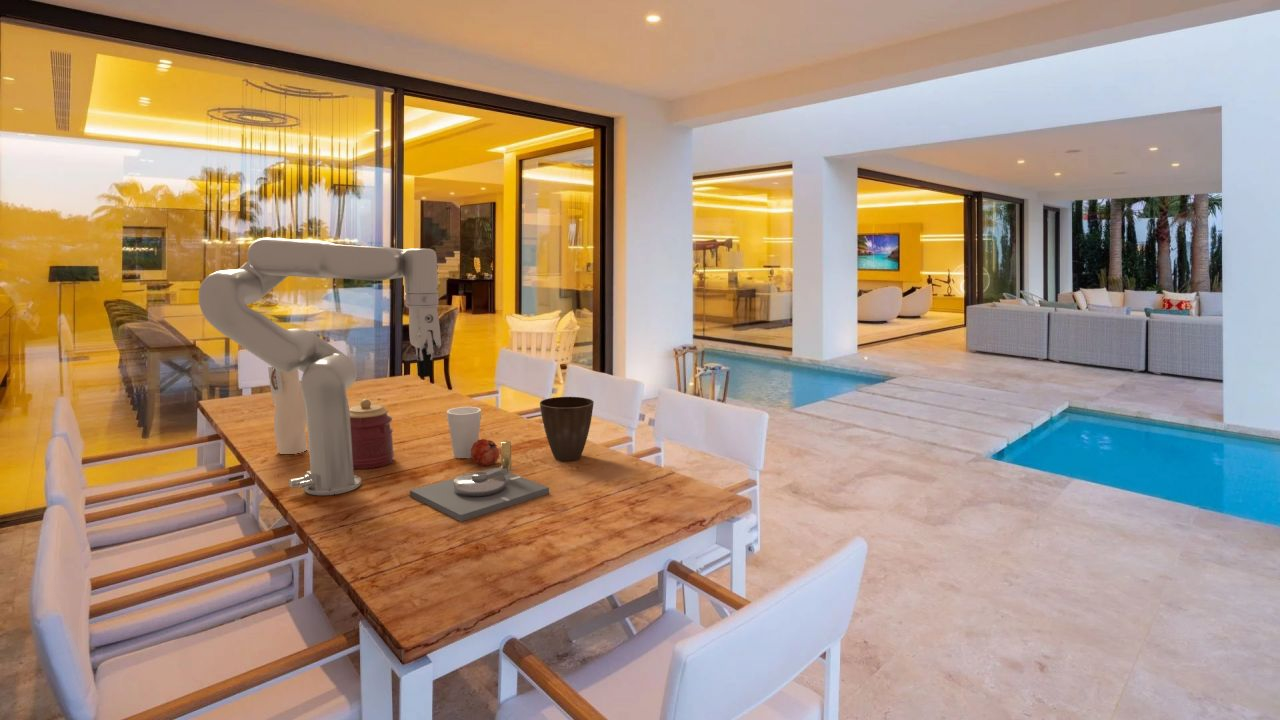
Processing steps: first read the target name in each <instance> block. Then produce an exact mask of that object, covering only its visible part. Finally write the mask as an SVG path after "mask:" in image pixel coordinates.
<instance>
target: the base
mask: <svg viewBox="0 0 1280 720" xmlns="http://www.w3.org/2000/svg"><path fill="white" fill-rule="evenodd" d="M496 468H497V467H496V466H494V467H492V468H488V469H485V470H482V471H491V470H494V469H496ZM504 476H505V480H506V487H505V489H504V490H502V491H500V492H498V493H495V494H492V495H487V496H477V497H472V496H463V495H459V494H457V493H455V492H454V484H453V481H454V479H455V478H456V477H454V478H450V479H446V480H442V481H439V482H435V483H432V484H428V485H424V486H421V487H416V488H413V489H410V490H409V496H410V497H411V498H413V499H415V500H417V501H419V502H421V503H423V504H425V505H428V506H429V507H431V508H433V509H435V510H437V511H439V512H441V513H443V514H445V515H447V516H448V517H451V518H453V519H455V520H457V521H459V522H464V521H468V520H471V519H475V518H477V517H480V516H483V515H484V516H485V515H486V514H490V513H493V512H495V511H498V510H502V509H505V508H508V507H511V506H515V505H517V504H521V503H523V502H527V501H529V500H533V499H536V498H539V497H542V496H546V495H549V494H550V487H549V486H547V485H544V484H540V483H538V482H535V481H533V480H531V479H527V478H525V477H523V476H520V475H517V474H515V473H513V472H509V474H506V475H504Z"/></svg>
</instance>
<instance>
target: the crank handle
mask: <svg viewBox="0 0 1280 720" xmlns="http://www.w3.org/2000/svg"><path fill="white" fill-rule="evenodd" d="M500 451H501V453H500V455H501V457H500V458H501V459H500V460H501V466H499V467H496V469H494V470H491V471H483V470H481V471H473V472H467V473H463V474H461V475H458V476H456V477H454V478H455V479H454V481H453V484H454V492H455V493H457V494H459V495H463V496H472V497H477V496H487V495H492V494H495V493H498V492H500V491H502V490H504V489H505V487H506V480H505V476H504V475H506V474H509V473H510V471H512V470H513V469H512V468H513V467H512V441H510V440H502V441H501V442H500Z"/></svg>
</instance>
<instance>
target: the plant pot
mask: <svg viewBox="0 0 1280 720" xmlns="http://www.w3.org/2000/svg"><path fill="white" fill-rule="evenodd" d="M594 403H595V402H594V400H593V399H591V398H586V397H581V396H557V397H549V398H545V399H543V400H540V402H539V407H540V414H541V418H542V424H543V427H544V432H545V435H546V438H547V439H546V440H547V442H548V445H549V447H550V450H551V453H552V455H553V458H554V459H555V460H557V461H560V462H561V461H563V462H573V461H577V460H579V459H581V457H582V455H583V452H584V449H585V446H586V443H587V439H588V436H589V432H590V427H591V423H592V418H593V410H594V409H593V408H594Z"/></svg>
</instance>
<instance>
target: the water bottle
mask: <svg viewBox="0 0 1280 720" xmlns="http://www.w3.org/2000/svg"><path fill="white" fill-rule="evenodd" d="M267 369H268V378H269V384H270V394H271V399H272V402H273V406H274V413H273V431H274V433H273V434H274V438H275V443H276V449H277V454H278V453H280V454H295V455H298V454H297V453H300V454H302V453H301V452H303V453H305V452H304V451H306V450H307V451H309V446H308V441H307V439H308V438H307V432H306V428H307V419H306V409H305V403H304V398H303V394H302V389H301V381H300V375H299V369H296V370H294V371H290V372H283V371H279V370H277V369H275V368H273V367H272V366H270V367H269V366H268V367H267ZM307 451H306V452H307ZM280 454H279V455H280Z"/></svg>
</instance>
